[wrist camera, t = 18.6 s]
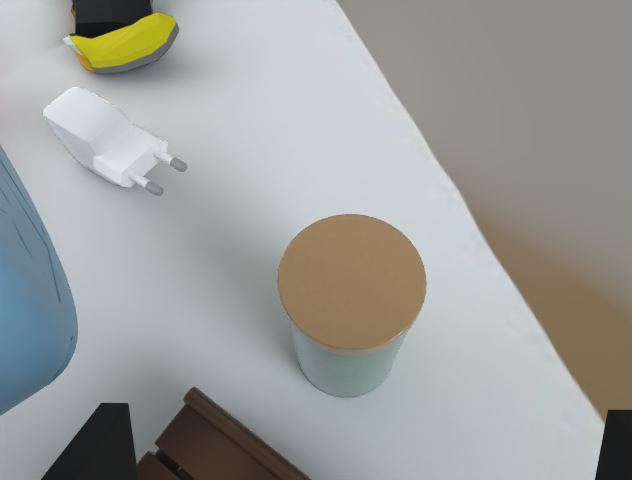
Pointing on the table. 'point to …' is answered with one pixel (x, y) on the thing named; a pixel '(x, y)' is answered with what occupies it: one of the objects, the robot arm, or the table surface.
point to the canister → (350, 300)
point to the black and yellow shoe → (119, 34)
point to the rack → (212, 448)
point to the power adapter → (107, 139)
